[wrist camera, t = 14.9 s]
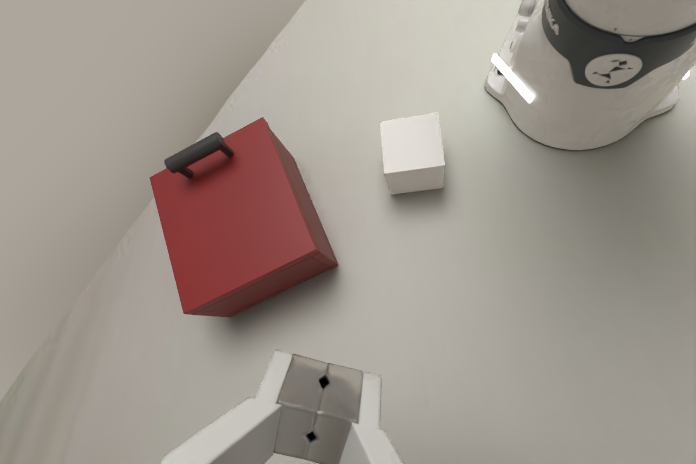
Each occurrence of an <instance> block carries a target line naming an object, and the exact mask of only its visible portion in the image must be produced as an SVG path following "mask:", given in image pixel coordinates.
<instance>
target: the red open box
mask: <svg viewBox="0 0 696 464" xmlns="http://www.w3.org/2000/svg"><path fill="white" fill-rule="evenodd" d="M270 131H271V129H270ZM271 133H272V135H273V138H274V140H275V143H276V145H277V148H278V150H279V153H280V155H281V158H282V160H283V162H284V165H285V167H286V170H287V172H288V175H289V177H290V180H291V182H292V184H293V187H294V189H295V192H296V194H297V197H298V199H299V202H300V204H301V207H302V209H303V211H304V214H305V216H306V219H307V221H308V224H309V226H310V229H311V231H312V234H313V236H314V238H315V241H316V243H317V246H318V248H319V251H320V252H319V253H317V254H315V255H313V256H311V257H309V258H307V259H305V260H303V261H301V262H299V263H296V264H294V265H292V266H290V267H288V268H286V269H284V270H282V271H280V272H278V273H276V274H274V275H272V276H270V277H268V278H266V279H263V280H261V281H259V282H257V283H255V284H253V285H251V286H249V287H247V288H245V289H243V290H241V291H239V292H237V293H235V294H233V295H230V296H228V297H226V298H224V299H222V300H220V301H218V302H216V303H214V304H212V305H210V306H208V307H206V308H204V309H202V310H200V311H197V312H195V313H193V314H192V315H204V316H220V317H230V316H232V315H235V314H237V313H239V312H241V311H243V310H245V309H247V308H249V307H251V306H253V305H255V304H258V303H260V302H262V301H264V300H266V299H268V298H270V297H272V296H274V295H276V294H278V293H280V292H283V291H285V290H287V289H289V288H291V287H293V286H295V285H297V284H299V283H301V282H303V281H306V280H308V279H310V278H312V277H314V276H316V275H318V274H320V273H322V272H324V271H326V270H329V269H331V268H333V267H335V266H337V265H338V262H337V260H336V258H335V255H334V253H333V251H332V248H331V246H330V243H329V241H328V239H327V236H326V234H325V232H324V229H323V227H322V224H321V222H320V220H319V217H318V215H317V213H316V210H315V208H314V205H313V203H312V201H311V198H310V196H309V194H308V191H307V189H306V187H305V184H304V182H303V179H302V177H301V175H300V172H299V170H298V168H297V165H296V163H295V160H294V158H293V157H292V155H291V154H290V153H289V152H288V150H287V149H286V148H285V147H284V145H283V144H282V143H281V142H280V140H279V139H278V138H277V137H276V136H275V134H274V133H273V132H272V131H271Z"/></svg>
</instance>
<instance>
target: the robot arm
mask: <svg viewBox="0 0 696 464" xmlns="http://www.w3.org/2000/svg"><path fill="white" fill-rule="evenodd" d="M492 62H493V63H494V64H493V66H492V68H491V71H490V73H489V75H488V77H487V79H486V82H485V88H486V90H487V91H488V92H489V93H490V94H491V95H492V96H494V97H495V98H496V99H498V100H499V101H501V102H502V103H503V105H504V106H505V108H506V110H507V112H508V113H509V115H510V117H511V119H512V120H513V122H514V123H515V124H516V125H517V127H518V128H519V129H520V130H521V131H523V132H524V133H525V134H526V135H528V136H529V137H531V138H532V139H534V140H536V141H538V142H540V143H542V144H545V145H548V146H551V147H555V148H560V149H567V150H587V149H593V148H598V147H602V146H605V145H608V144H611V143H613V142H615V141H617V140H619V139H621V138H623V137H624V136H626V135H627V134H629V133H630V132H631V131H632V130H633V129H635V128H636V127H637V126H638V125H639V124H640V123H641V122H643V121H644V120H646V119H647V118H650V117H653V116H656V115H659V114H661V113H664V112H666V111H668V110H670V109H671V108H672V107H673V106H674V105H675V104H676V103H677V101H678V100H679V97H680V94H679V87H678V83H679V82H680V81H681V80H682V79H686V78H687V77H688V76H689V75H690V72H689V70H690V69H691V68H692V66H693V65H694V64H695V63H696V0H522V2H521V5H520V8H519V12H518V15H517V18H516V20H515V22H514V24H513V26H512V28H511V30H510V32H509V34H508V36H507V38H506V40H505V42H504V44H503V46H502V48H501V50H500V52H499V54H498V55H497V54H496V53H495V54H493V56H492ZM498 73H502V74H503V75H498ZM381 388H382V378H381V375H378V374H373V373H369V372H365V371H363V372H362V371H361V370H357V369H352V368H348V367H344V366H340V365H335V364H331V363H325V362H322V361H318V360H315V359H311V358H307V357H304V356H300V355H296V354H291V353H288V352H284V351H280V350H277V349H276V350H275V352H274V353H273V355H272V358H271V360H270V362H269V365H268V367H267V370H266V372H265V374H264V377H263V379H262V382H261V384H260V386H259V389H258V391H257V394H256V396H255V398H251V397H248V398H247V399H245V400H244V401H243V402H241V403H240V404H238V405H237V406H235V407H234V408H233V409H231V410H230V411H228V412H227V413H225V414H224V415H223V416H221V417H220V418H218V419H217V420H215V421H214V422H212V423H211V424H210V425H208V426H207V427H205V428H204V429H202V430H201V431H200V432H198V433H197V434H195V435H194V436H192V437H191V438H190V439H188V440H187V441H185V442H184V443H182V444H181V445H179V446H178V447H177V448H175V449H174V450H172V451H171V452H169V453H168V454H167V455H165V456H164V458H163V460H162V461H161V463H160V464H264V463H265V462H266V461H267V460H268V459H269V458H270V457H271V456H272V455H273V453H277V454H282V455H286V456H291V457H296V458H300V459H306V460H308V461H312V462H315V463H319V464H404V463H403V461H402V459H401V458H400V456H399V454H398V452H397V450H396V449H395V447H394V445H393V443H392V441H391V440H390V438H389V436H388V434H387V432H386V431H384V430H381V429H380V417H381Z"/></svg>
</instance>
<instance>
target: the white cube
mask: <svg viewBox="0 0 696 464" xmlns="http://www.w3.org/2000/svg"><path fill="white" fill-rule="evenodd" d="M380 128H381V140H382V152H383V164H384V174H385V178H386V181H387V184H388V187H389V190H390V193H391V195H393V194H400V193H408V192H416V191H424V190H432V189H439V188H444V175H445V160H444V153H443V146H442V138H441V131H440V123H439V116H438V112H435V113H429V114H423V115H417V116H411V117H405V118H400V119H394V120H388V121H382V122H380Z"/></svg>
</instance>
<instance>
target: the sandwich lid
mask: <svg viewBox="0 0 696 464" xmlns="http://www.w3.org/2000/svg"><path fill="white" fill-rule="evenodd" d="M165 165H166V167H167V169H165V170H163V171H161V172H159V173H157V174H155V175H154V176H152V177H150V181H151V185H152V188H153V193H154V197H155V201H156V205H157V209H158V213H159V217H160V221H161V225H162V229H163V233H164V237H165V241H166V245H167V249H168V253H169V257H170V261H171V265H172V269H173V273H174V277H175V281H176V285H177V289H178V293H179V297H180V301H181V305H182V309H183V313H184V314H193V313H195V312H197V311H200V310H202V309H204V308H206V307H208V306H210V305H212V304H214V303H216V302H218V301H220V300H222V299H224V298H226V297H228V296H230V295H233V294H235V293H237V292H239V291H241V290H243V289H245V288H247V287H249V286H251V285H253V284H255V283H257V282H259V281H261V280H263V279H266V278H268V277H270V276H272V275H274V274H276V273H278V272H280V271H282V270H284V269H286V268H288V267H290V266H292V265H294V264H296V263H299V262H301V261H303V260H305V259H307V258H309V257H311V256H313V255H315V254H317V253H319V252H320V251H319V248H318V246H317V243H316V241H315V238H314V236H313V234H312V231H311V229H310V226H309V224H308V221H307V219H306V216H305V214H304V211H303V209H302V207H301V204H300V202H299V199H298V197H297V194H296V192H295V189H294V187H293V184H292V182H291V180H290V177H289V175H288V172H287V170H286V167H285V165H284V162H283V160H282V158H281V155H280V153H279V150H278V148H277V145H276V143H275V140H274V138H273V135H272V133H271V131H270V128H269V126H268V123H267V122H266V121H265V119H264V118H263V117H262V118H260V119H258V120H256V121H255V122H253V123H251V124H249V125H247V126H245V127H243V128H241V129H240V130H238V131H236V132H234V133H232V134H230V135H228V136H226V137H225V138H222V137H221V135H220V134H219V133H218V132H215V133H214V134H212V135H210V136H208V137H206V138H204V139H202V140H201V141H199V142H197V143H195V144H193V145H191V146H189V147H188V148H186V149H184V150H182V151H180V152H178V153H177V154H175V155H173V156H171V157H169V158H167V159H165Z"/></svg>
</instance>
